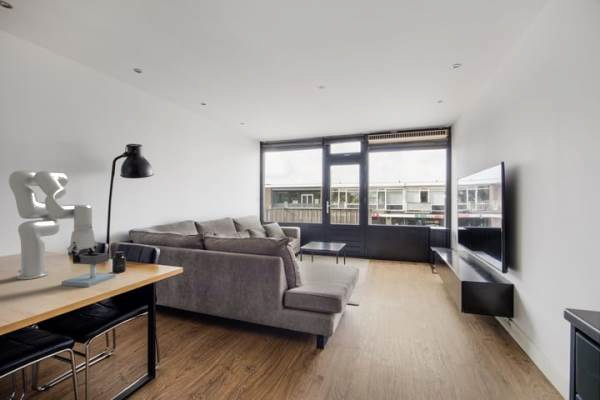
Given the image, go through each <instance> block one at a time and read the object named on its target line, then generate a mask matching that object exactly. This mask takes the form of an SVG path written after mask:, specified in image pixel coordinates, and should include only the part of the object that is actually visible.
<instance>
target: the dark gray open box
mask: <svg viewBox="0 0 600 400" xmlns="http://www.w3.org/2000/svg"><path fill="white" fill-rule="evenodd" d="M78 255H79V262H78V263H73V262H72V264H74V265H75V264H76V265H91V264H96V265H99V264H102V263H106V262H109V256H110V255H109V253H99V252H97V253H96V252H94V253H88V252H86V253H82V254H78Z"/></svg>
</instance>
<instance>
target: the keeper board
mask: <svg viewBox="0 0 600 400" xmlns="http://www.w3.org/2000/svg"><path fill="white" fill-rule="evenodd" d="M116 276H117V275H116V273H107V272H105V273H104V272H97V264H89V272H88V273H84V274H81V275H78V276H75V277H71V278H68V279H65V280H62V281H61V286H68V287H84V288H90V287H92V286H96V285H99V284H100V283H104V282H106V281H110V280H112V279H114V278H116Z"/></svg>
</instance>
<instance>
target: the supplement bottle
mask: <svg viewBox="0 0 600 400" xmlns="http://www.w3.org/2000/svg"><path fill="white" fill-rule="evenodd" d="M111 264H112V266H111V271H112V274H120V273H124V272H126V269H127V267H126V266H127V265H126V264H127V257H126V256H125V251H115V252H114V256H113V257H112V262H111Z"/></svg>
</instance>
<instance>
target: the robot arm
mask: <svg viewBox="0 0 600 400" xmlns="http://www.w3.org/2000/svg"><path fill="white" fill-rule="evenodd" d="M68 183H69V179H68V176H67V174H65V173H63V172H60V171H48V170H43V171H42V170H41V171H36V170H16V171H13V172H12V173H11V174H10V175H9V178H8V184H9V188H10V190H11V192H12V193H13V195H14V199H15V203H16V208H17V212H18V216H19V218H21V219H24V220H25V219H26V220H28V221H23V222H22V223H21V224H19V225H18V227H17V232H18V235H19V239H20V261H21V262H20V266H21V267H20V269H18V270H17V273H20V274H19V275H18V276H17V277H16V278H17V279H18V280H32V279H38V278H43V277H47V276H48V275H50V274H49V273H50V272H49V271H47V270H46V247H45V246H46V244H45V242H44V241H43V240H42V238H43V237H48V236H49V237H50V236H54V235H57V234H58V232H59V231H60V223H59V220H68V219H73V231H72V232H71V236H70V245H69V246H68V247H67V248H66V249H67V251H68V253H69V254H71V256H72V264H73V263H78V262H79V255H80V254H79V253H80V251H81V250H88V251H87V253H95V251H96V249H97V247H98V245H99V243H98V242H97V241H96V240H95V234H94V229H93V228H94V225H93V209H92V206H91V205H88V204H59V202H58V201H57V200H58V199H61V198H62V197H63V196H65V194H66V192H67V190H66V188H65V186H67V184H68ZM30 186H31V187H39V188H40V189H41V191H42V192H43V193H44V194H45V199H44V201H38V197H37V193H36V192H35V191H34V190H33V189H32V188H31V187H30ZM33 219H37V220H33ZM41 237H42V238H41Z"/></svg>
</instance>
